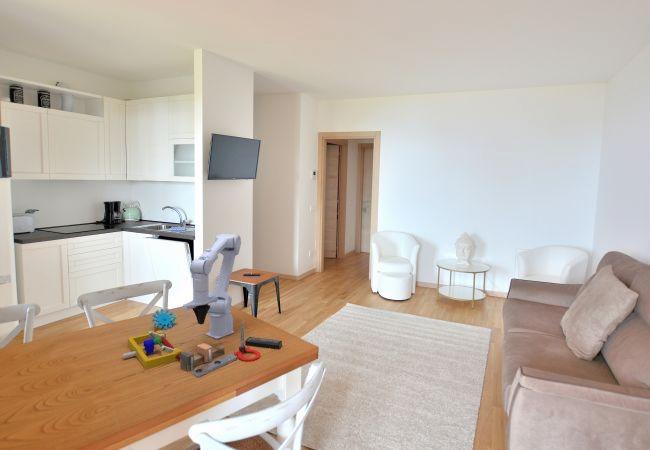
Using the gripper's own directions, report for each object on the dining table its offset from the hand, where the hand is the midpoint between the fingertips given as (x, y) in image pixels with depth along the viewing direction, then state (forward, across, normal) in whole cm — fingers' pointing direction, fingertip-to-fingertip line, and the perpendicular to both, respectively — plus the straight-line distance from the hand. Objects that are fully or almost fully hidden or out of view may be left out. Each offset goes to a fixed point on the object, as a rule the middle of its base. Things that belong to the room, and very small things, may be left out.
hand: (200, 323), depth 155 cm
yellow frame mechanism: (+11, +14, -14) cm, 23 cm away
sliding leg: (+11, +5, +9) cm, 15 cm away
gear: (+10, -4, -31) cm, 33 cm away
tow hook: (+11, -8, +19) cm, 23 cm away
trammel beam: (+11, +5, +9) cm, 15 cm away
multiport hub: (+11, -18, +16) cm, 27 cm away
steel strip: (+11, +5, +16) cm, 20 cm away
